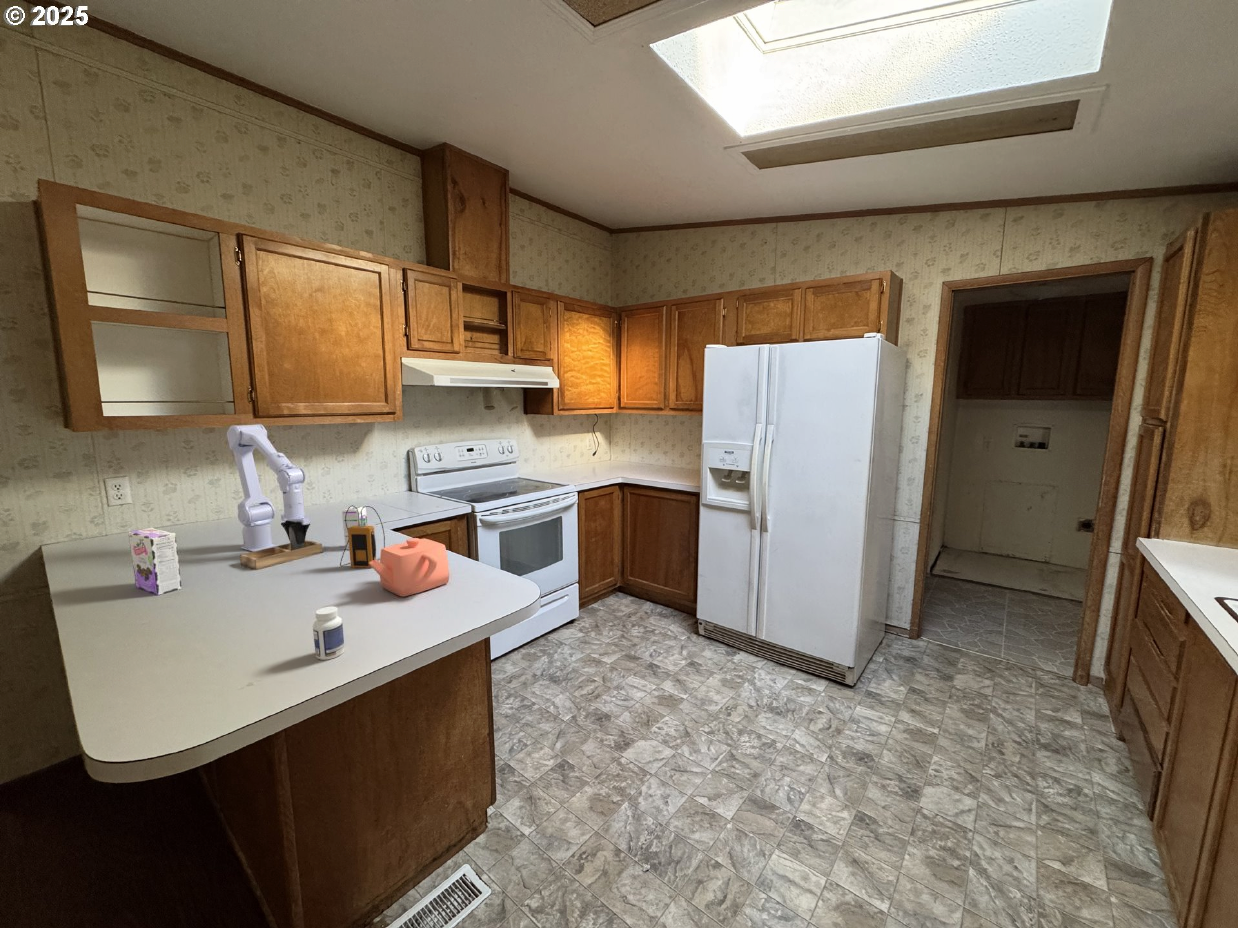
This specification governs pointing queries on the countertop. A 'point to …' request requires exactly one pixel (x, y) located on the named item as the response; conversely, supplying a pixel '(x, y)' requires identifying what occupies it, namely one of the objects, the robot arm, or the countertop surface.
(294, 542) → the battery cell
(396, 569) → the teapot
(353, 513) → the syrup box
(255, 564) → the cell tray
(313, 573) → the countertop surface
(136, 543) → the candy box
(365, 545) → the multimeter
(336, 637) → the pill bottle
